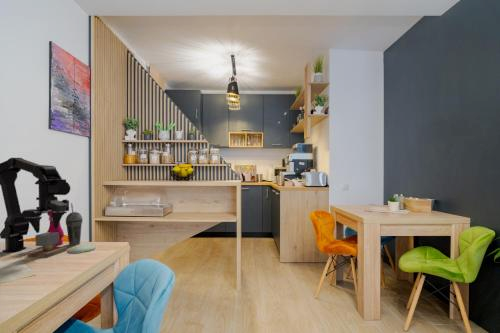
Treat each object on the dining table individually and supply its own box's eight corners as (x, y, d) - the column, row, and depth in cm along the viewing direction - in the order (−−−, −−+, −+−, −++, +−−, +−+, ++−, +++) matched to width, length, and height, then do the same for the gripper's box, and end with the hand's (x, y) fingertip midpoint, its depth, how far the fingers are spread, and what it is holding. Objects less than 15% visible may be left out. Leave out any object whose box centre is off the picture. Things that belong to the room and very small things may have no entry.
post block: (27, 256, 124) (27, 238, 124) (48, 249, 134) (47, 233, 134) (47, 257, 123) (47, 239, 122) (66, 250, 132) (66, 233, 132)
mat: (61, 252, 129) (61, 251, 129) (80, 245, 140) (80, 244, 140) (83, 253, 127) (83, 252, 127) (100, 246, 137) (100, 245, 137)
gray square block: (35, 245, 126) (35, 235, 126) (47, 242, 132) (47, 232, 132) (47, 246, 125) (47, 235, 125) (59, 242, 131) (59, 232, 131)
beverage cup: (86, 242, 145) (85, 202, 145) (73, 246, 138) (72, 204, 138) (75, 241, 148) (74, 202, 148) (62, 245, 141) (61, 203, 141)
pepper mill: (67, 242, 146) (66, 202, 146) (56, 246, 139) (55, 204, 139) (54, 242, 147) (53, 202, 147) (42, 246, 140) (41, 204, 140)
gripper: (43, 197, 118) (44, 236, 118) (79, 192, 136) (79, 226, 136) (20, 196, 120) (20, 235, 120) (58, 192, 138) (58, 225, 138)
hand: (47, 230), depth 128 cm, fingers open, 9 cm apart
